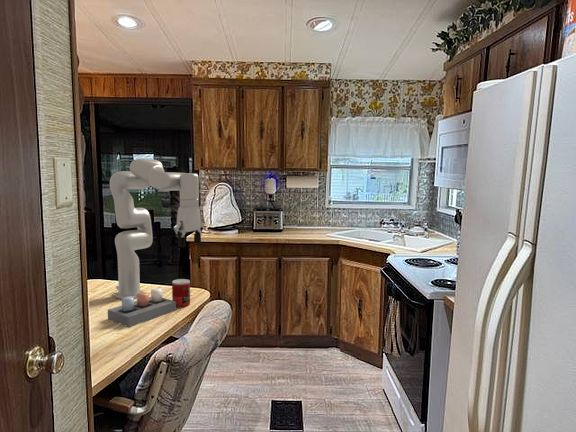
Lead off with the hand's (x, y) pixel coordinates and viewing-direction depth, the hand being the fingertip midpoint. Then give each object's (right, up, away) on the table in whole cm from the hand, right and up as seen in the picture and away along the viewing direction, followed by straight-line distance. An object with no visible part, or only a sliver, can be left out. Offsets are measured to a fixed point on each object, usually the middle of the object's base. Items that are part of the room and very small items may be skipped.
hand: (189, 244), depth 158 cm
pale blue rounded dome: (-24, -26, -3) cm, 35 cm away
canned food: (-8, -29, +17) cm, 34 cm away
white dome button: (-17, -25, +9) cm, 31 cm away
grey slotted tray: (-21, -30, +3) cm, 36 cm away
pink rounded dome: (-20, -25, +3) cm, 33 cm away
